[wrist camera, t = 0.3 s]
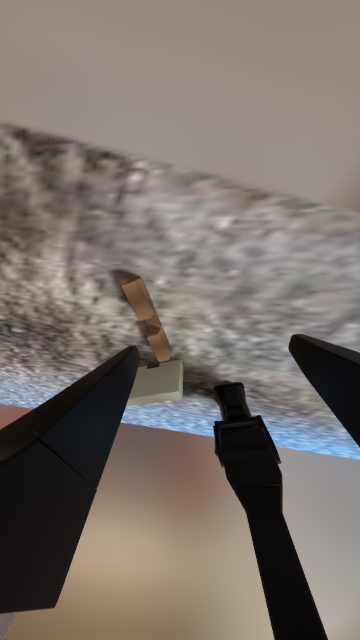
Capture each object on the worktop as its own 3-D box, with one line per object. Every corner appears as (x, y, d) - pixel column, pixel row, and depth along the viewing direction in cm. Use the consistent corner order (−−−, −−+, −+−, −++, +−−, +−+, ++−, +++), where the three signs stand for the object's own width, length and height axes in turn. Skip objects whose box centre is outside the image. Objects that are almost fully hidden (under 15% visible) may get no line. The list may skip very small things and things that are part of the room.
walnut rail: (171, 348, 26) (169, 359, 23) (161, 350, 26) (158, 362, 24) (141, 277, 20) (134, 281, 17) (129, 281, 20) (121, 285, 18)
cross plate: (180, 359, 27) (178, 391, 21) (183, 366, 28) (182, 398, 22) (128, 369, 29) (112, 401, 23) (132, 375, 30) (117, 407, 24)
